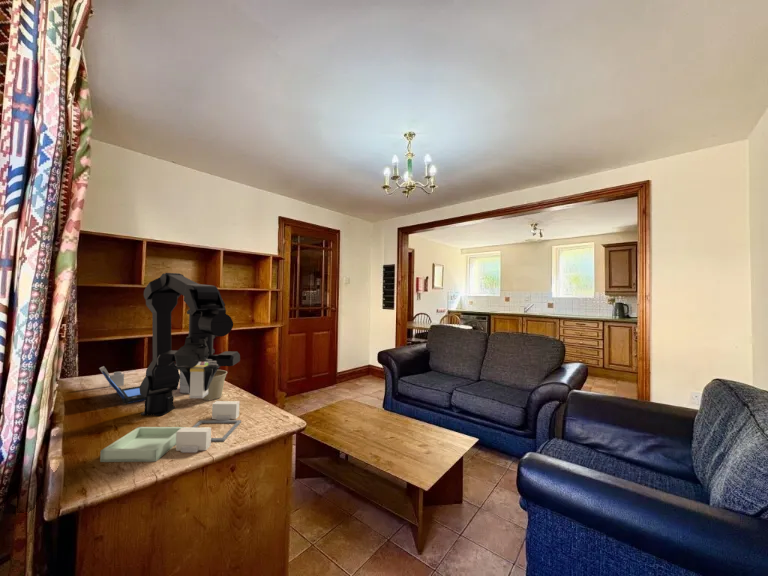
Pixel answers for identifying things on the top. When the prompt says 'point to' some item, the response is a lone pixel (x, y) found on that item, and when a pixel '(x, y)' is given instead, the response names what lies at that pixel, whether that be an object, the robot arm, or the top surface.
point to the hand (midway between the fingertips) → (199, 390)
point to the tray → (141, 445)
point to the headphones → (207, 428)
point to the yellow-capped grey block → (197, 382)
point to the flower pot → (216, 385)
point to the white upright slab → (115, 377)
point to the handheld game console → (126, 392)
